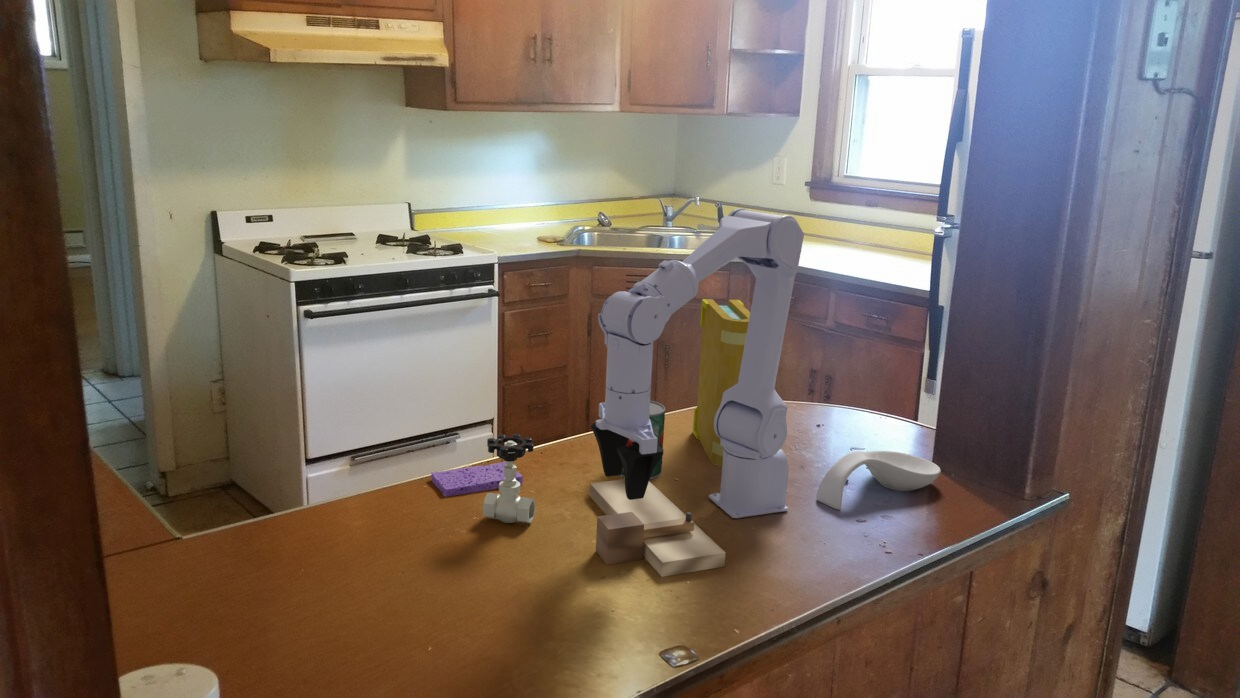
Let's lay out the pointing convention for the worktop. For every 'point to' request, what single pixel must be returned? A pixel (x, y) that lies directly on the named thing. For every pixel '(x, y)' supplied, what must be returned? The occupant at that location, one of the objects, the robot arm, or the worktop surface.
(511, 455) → the valve
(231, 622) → the worktop surface
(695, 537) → the board
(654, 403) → the canned tomato
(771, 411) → the robot arm
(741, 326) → the book
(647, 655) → the worktop surface
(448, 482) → the sponges
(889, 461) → the spoon rest
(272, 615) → the worktop surface
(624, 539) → the mallet
